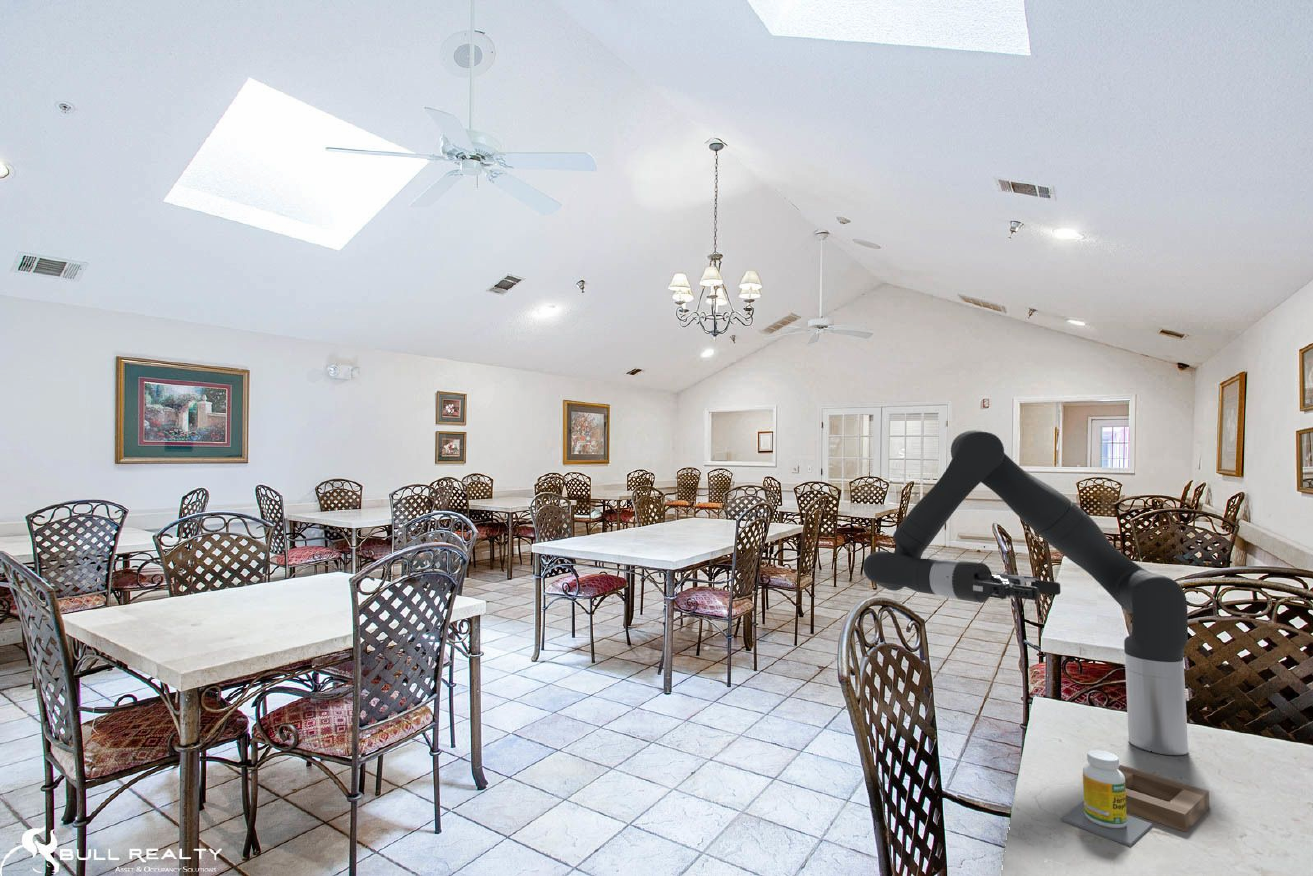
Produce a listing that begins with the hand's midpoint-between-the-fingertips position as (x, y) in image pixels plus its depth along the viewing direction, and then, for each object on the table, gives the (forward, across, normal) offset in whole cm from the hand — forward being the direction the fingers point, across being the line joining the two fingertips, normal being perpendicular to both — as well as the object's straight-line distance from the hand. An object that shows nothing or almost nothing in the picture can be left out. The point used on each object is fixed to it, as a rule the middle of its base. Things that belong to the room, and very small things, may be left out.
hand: (1049, 591), depth 116 cm
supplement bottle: (+11, -10, +32) cm, 35 cm away
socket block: (+13, +2, +32) cm, 35 cm away
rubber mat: (+11, -10, +32) cm, 35 cm away
